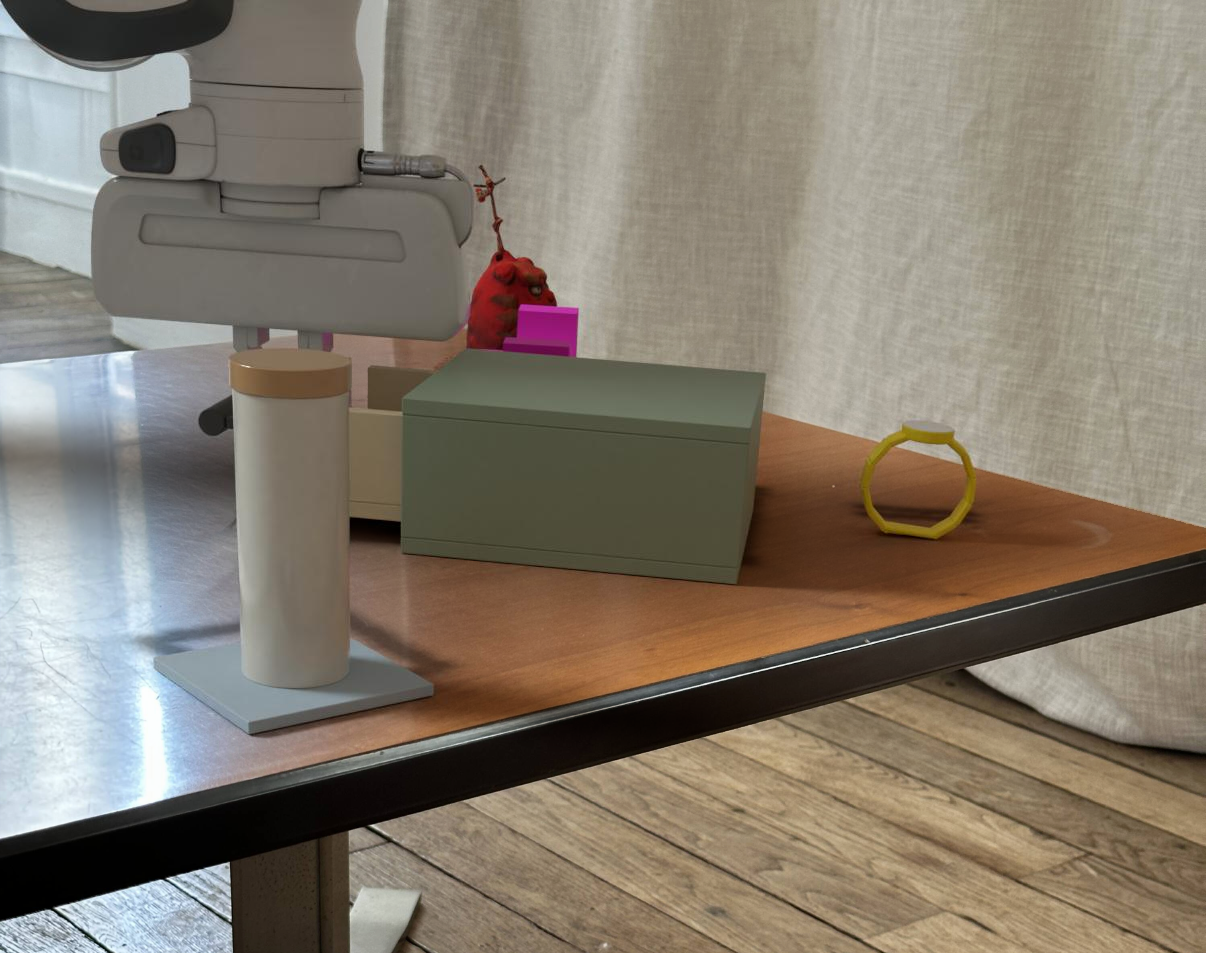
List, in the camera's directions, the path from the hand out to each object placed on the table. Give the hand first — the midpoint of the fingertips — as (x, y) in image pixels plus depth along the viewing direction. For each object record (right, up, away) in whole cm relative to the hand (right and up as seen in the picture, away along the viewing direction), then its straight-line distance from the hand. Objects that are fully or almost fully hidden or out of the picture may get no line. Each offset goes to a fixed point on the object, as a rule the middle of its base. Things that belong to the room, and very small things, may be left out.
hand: (285, 411), depth 95 cm
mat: (+5, -17, -28) cm, 33 cm away
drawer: (+7, -5, -4) cm, 10 cm away
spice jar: (+6, -16, -28) cm, 33 cm away
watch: (+34, -7, -2) cm, 35 cm away
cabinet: (+17, -7, -5) cm, 19 cm away
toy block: (+12, 0, +12) cm, 17 cm away
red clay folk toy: (+11, +9, +30) cm, 33 cm away
